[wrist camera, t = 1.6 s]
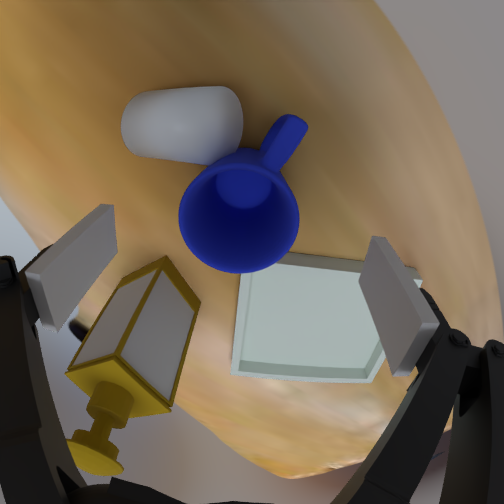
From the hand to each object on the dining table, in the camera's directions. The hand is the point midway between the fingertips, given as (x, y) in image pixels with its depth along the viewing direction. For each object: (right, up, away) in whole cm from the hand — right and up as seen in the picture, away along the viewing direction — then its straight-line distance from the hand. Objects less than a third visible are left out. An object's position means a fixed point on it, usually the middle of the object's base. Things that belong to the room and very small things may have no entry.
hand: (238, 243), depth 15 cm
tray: (+9, -9, +23) cm, 26 cm away
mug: (+1, +8, +14) cm, 16 cm away
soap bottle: (-12, -3, +21) cm, 24 cm away
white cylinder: (-2, +9, +6) cm, 11 cm away
